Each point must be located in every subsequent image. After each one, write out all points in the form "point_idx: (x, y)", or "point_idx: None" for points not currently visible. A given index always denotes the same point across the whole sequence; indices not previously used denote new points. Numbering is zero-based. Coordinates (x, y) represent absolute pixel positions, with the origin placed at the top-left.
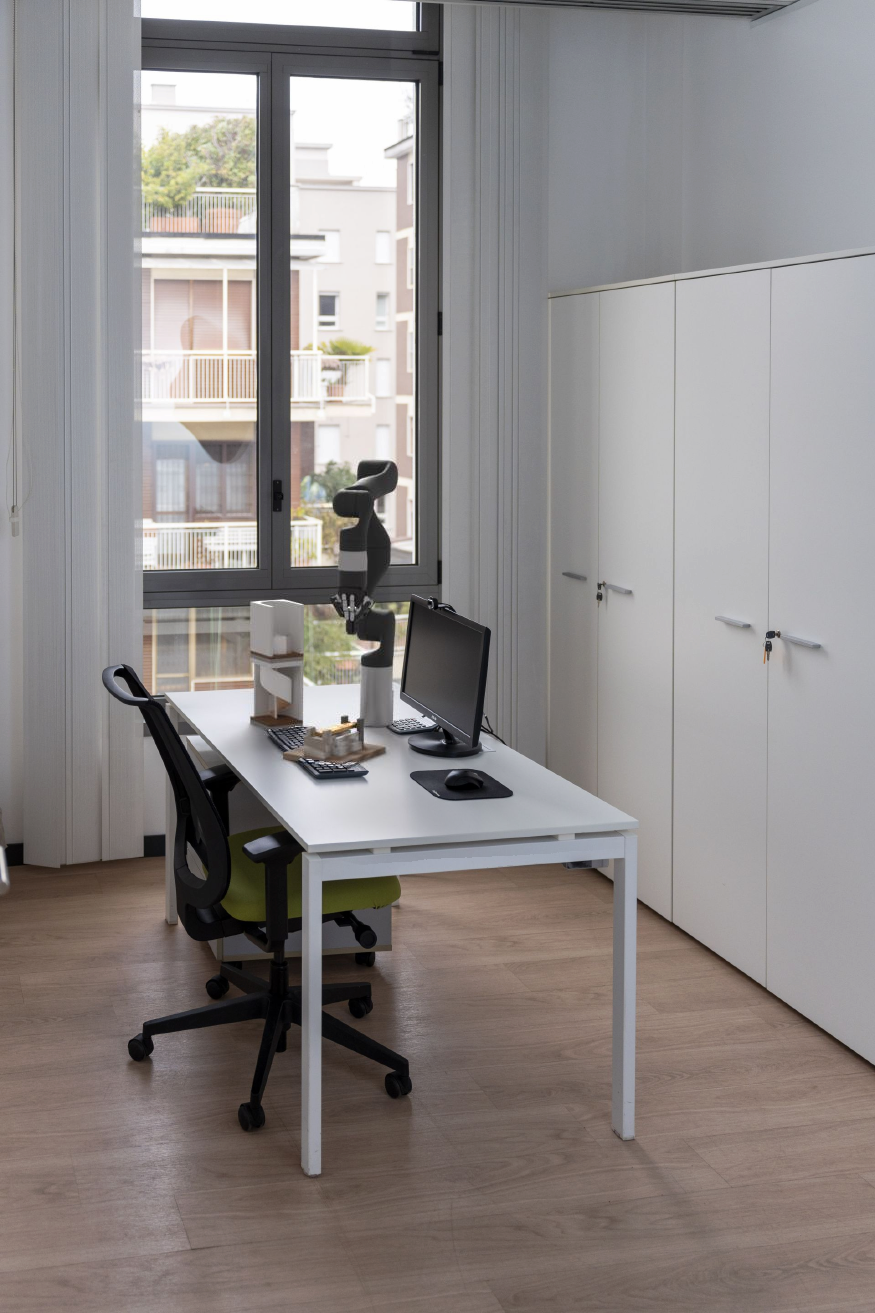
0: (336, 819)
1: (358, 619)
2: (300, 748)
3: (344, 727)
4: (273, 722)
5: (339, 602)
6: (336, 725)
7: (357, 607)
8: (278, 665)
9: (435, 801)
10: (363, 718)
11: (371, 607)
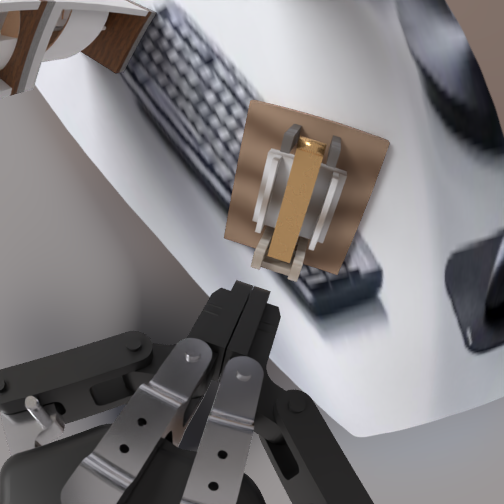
0: (367, 410)
1: (269, 383)
2: (236, 203)
3: (309, 200)
4: (114, 58)
5: (61, 415)
6: (286, 188)
7: (221, 450)
8: (35, 69)
9: (463, 360)
10: (339, 153)
11: (366, 494)
